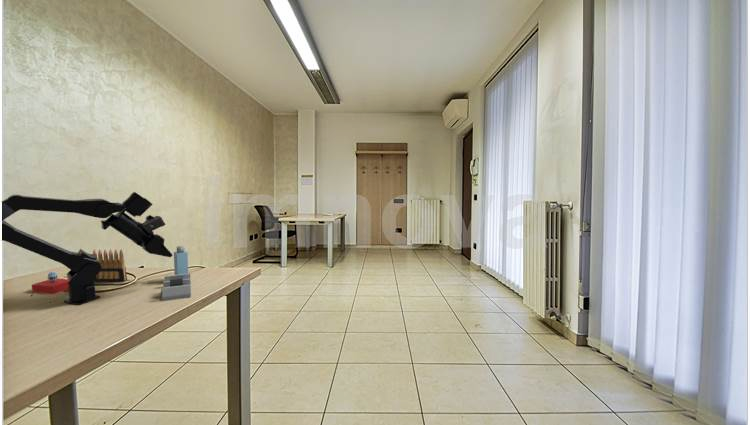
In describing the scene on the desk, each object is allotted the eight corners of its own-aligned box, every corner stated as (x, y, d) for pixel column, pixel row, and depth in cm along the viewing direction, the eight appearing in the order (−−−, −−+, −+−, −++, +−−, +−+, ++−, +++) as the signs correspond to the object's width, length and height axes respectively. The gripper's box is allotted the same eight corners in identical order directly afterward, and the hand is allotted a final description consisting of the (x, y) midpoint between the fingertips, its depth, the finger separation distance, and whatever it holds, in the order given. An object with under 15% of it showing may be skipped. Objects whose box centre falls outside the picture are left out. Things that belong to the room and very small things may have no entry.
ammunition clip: (127, 280, 125) (125, 248, 124) (124, 281, 124) (122, 250, 122) (95, 280, 124) (93, 248, 122) (92, 282, 122) (89, 250, 121)
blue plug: (178, 282, 124) (176, 248, 123) (174, 280, 127) (173, 246, 125) (188, 280, 127) (187, 247, 125) (185, 278, 130) (184, 245, 128)
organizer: (162, 300, 108) (161, 282, 107) (165, 286, 120) (164, 270, 120) (190, 297, 112) (190, 279, 111) (190, 283, 124) (190, 267, 123)
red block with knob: (74, 287, 117) (73, 269, 116) (54, 294, 110) (52, 276, 110) (53, 285, 118) (52, 268, 117) (32, 292, 111) (30, 274, 110)
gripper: (155, 212, 110) (193, 240, 119) (140, 206, 123) (175, 232, 132) (127, 239, 105) (169, 266, 115) (115, 230, 118) (153, 255, 127)
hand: (167, 253), depth 122 cm, fingers open, 9 cm apart
